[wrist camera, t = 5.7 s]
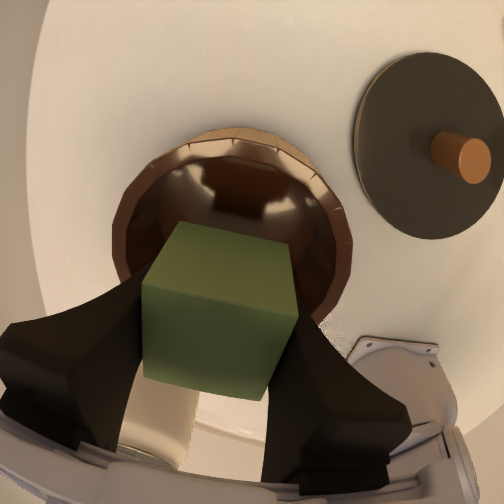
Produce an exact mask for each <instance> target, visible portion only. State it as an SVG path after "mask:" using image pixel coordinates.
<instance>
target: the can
mask: <svg viewBox="0 0 504 504" xmlns="http://www.w3.org/2000/svg"><path fill="white" fill-rule="evenodd" d="M199 393H200V391H197V390H193V389H188V388H184V387H179V386H175V385H171V384H167V383H163V382H159V381H155V380H151V379H148V378H144V377H143V361H141V363H140V365H139V368H138V370H137V373H136V376H135V379H134V382H133V385H132V389H131V392H130V395H129V399H128V403H127V406H126V410H125V414H124V418H123V422H122V426H121V430H120V435H119V440H118V445H117V450H116V454H119V455H122V456H125V457H128V458H131V459H135V460H138V461H142V462H145V463H149V464H153V465H157V466H161V467H165V468H169V469H173V470H177V469H178V468H179V466H180V465H181V464H182V463H183V462H184V461H185V459H186V458H187V455H188V452H189V447H190V442H191V436H192V431H193V425H194V420H195V415H196V409H197V404H198V398H199Z"/></svg>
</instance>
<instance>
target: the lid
mask: <svg viewBox="0 0 504 504" xmlns="http://www.w3.org/2000/svg"><path fill="white" fill-rule="evenodd" d="M354 153H355V160H356V167H357V170H358V174H359V178H360V181H361V183H362V186H363V188H364V191H365V193H366V195H367V196H368V198H369V200H370V202H371V203H372V205H373V206H374V207H375V209H376V210H377V211H378V213H379V214H380V215H381V216H382V217H383V218H384V219H385V220H386V221H387V222H388V223H390V224H391V225H392V226H393V227H395V228H396V229H398V230H399V231H401V232H403V233H405V234H407V235H410V236H412V237H416V238H421V239H431V240H433V239H443V238H447V237H451V236H454V235H456V234H459V233H461V232H463V231H465V230H466V229H468V228H469V227H471V226H472V225H473V224H475V223H476V222H477V221H478V220H479V219H480V218H481V217H482V216H483V215H484V214H485V213H486V212H487V210H488V209H489V208H490V206H491V205H492V203H493V202H494V200H495V198H496V196H497V194H498V192H499V190H500V188H501V185H502V183H503V179H504V117H503V114H502V111H501V108H500V106H499V104H498V101H497V99H496V97H495V96H494V94H493V92H492V91H491V89H490V88H489V86H488V85H487V84H486V82H485V81H484V80H483V79H482V78H481V77H480V76H479V75H478V74H477V73H476V72H475V71H474V70H473V69H472V68H470V67H469V66H468V65H466V64H465V63H463V62H461V61H459V60H458V59H455V58H453V57H450V56H448V55H444V54H439V53H428V52H426V53H417V54H412V55H409V56H406V57H403V58H401V59H399V60H397V61H395V62H393V63H391V64H390V65H389V66H387V67H386V68H385V69H383V70H382V71H381V73H380V74H379V75H378V76H377V77H376V78H375V79H374V81H373V82H372V83H371V85H370V86H369V88H368V89H367V91H366V93H365V95H364V97H363V99H362V102H361V105H360V108H359V111H358V115H357V119H356V124H355V134H354Z"/></svg>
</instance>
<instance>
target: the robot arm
mask: <svg viewBox="0 0 504 504" xmlns="http://www.w3.org/2000/svg"><path fill="white" fill-rule="evenodd" d="M153 263H154V261H153V262H151V263H150V264H148V265H147V266H145V267H144V268H143V269H141V270H140V271H138V272H137V273H136V274H134V275H133V276H131V277H130V278H128V279H127V280H125V281H124V282H122V283H121V284H119V285H118V286H116V287H114V288H113V289H111V290H109V291H108V292H106V293H104V294H103V295H101V296H99V297H97V298H95V299H93V300H91V301H89V302H86V303H84V304H82V305H80V306H77V307H74V308H72V309H69V310H66V311H64V312H61V313H58V314H54V315H51V316H47V317H43V318H39V319H36V320H30V321H24V322H18V323H11V324H10V325H9V326H8V327H7V329H6V330H5V331H4V333H3V334H2V335H1V336H0V378H1V380H2V381H3V383H4V385H5V387H6V388H7V389H6V390H5V392H4V394H3V396H2V397H1V399H0V474H2V475H3V476H5V477H6V478H8V479H9V480H11V481H12V482H14V483H15V484H17V485H18V486H20V487H22V488H23V489H25V490H27V491H28V492H30V493H32V494H34V495H35V496H37V497H39V498H41V499H43V500H44V501H46V504H478V500H479V499H480V492H479V487H478V484H477V477H476V473H475V469H474V467H473V463H472V461H471V457H470V454H469V451H468V449H467V446H466V444H465V441H464V439H463V436H462V434H461V432H460V430H459V428H458V427H457V426H454V425H455V422H456V419H457V400H456V397H455V394H454V392H453V390H452V388H451V386H450V383H449V381H448V379H447V377H446V375H445V373H444V371H443V369H442V367H441V365H440V363H439V361H438V359H437V357H436V354H437V353H438V352H439V350H440V348H439V346H438V345H433V344H422V343H411V342H402V341H393V340H384V339H376V338H368V337H364V338H361V339H360V340H359V341H358V343H357V344H356V346H355V348H354V349H353V351H352V353H351V354H350V356H349V357H348V359H347V361H346V360H345V359H344V358H343V356H342V355H341V354H340V353H339V352H338V351H337V350H336V349H335V348H334V347H333V345H332V344H331V343H330V342H329V340H328V339H327V338H326V337H325V335H324V334H323V333H322V331H321V330H320V329H319V327H318V326H317V324H316V323H315V321H314V320H313V318H312V317H311V315H310V314H309V312H308V311H307V309H306V308H305V306H304V304H303V303H302V301H301V299H300V298H299V296H298V295H297V293H296V292H295V293H296V300H297V307H298V314H299V317H298V319H297V321H296V324H295V326H294V329H293V331H292V333H291V336H290V338H289V340H288V342H287V345H286V347H285V349H284V351H283V354H282V356H281V358H280V360H279V363H278V365H277V367H276V369H275V371H274V374H273V376H272V378H271V380H270V382H269V384H268V393H269V403H268V419H267V432H266V443H265V452H264V461H263V468H262V475H261V482H250V481H240V480H231V479H224V478H216V477H210V476H203V475H198V474H193V473H187V472H182V471H178V470H173V469H169V468H165V467H161V466H157V465H153V464H149V463H145V462H142V461H138V460H135V459H131V458H128V457H125V456H122V455H119V454H116V450H117V445H118V440H119V435H120V430H121V426H122V422H123V418H124V414H125V410H126V406H127V403H128V399H129V395H130V392H131V389H132V385H133V382H134V379H135V376H136V373H137V370H138V368H139V365H140V363H141V361H142V327H141V295H142V281H143V280H144V278H145V276H146V275H147V273H148V271H149V269H150V268H151V266H152V264H153ZM368 343H369V344H368Z"/></svg>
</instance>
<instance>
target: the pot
mask: <svg viewBox="0 0 504 504" xmlns="http://www.w3.org/2000/svg"><path fill="white" fill-rule="evenodd" d="M179 221H184V222H189V223H193V224H198V225H203V226H207V227H212V228H216V229H221V230H226V231H230V232H235V233H239V234H244V235H248V236H253V237H257V238H262V239H266V240H271V241H275V242H280V243H284V244H287V245H288V248H289V254H290V260H291V267H292V273H293V280H294V287H295V292H296V293H297V295H298V296H299V298H300V299H301V301H302V303H303V304H304V306H305V308H306V309H307V311H308V312H309V314H310V315H311V317H312V318H313V320H314V321H315V323H316V324H317V326H318V325H319V324H320V322H321V321H322V320H323V319H324V318H325V317H326V316H327V315H328V314H329V313H330V312H331V311H332V310H333V309H334V307H335V306H336V305H337V303H338V301H339V299H340V297H341V295H342V293H343V290H344V288H345V286H346V284H347V282H348V279H349V277H350V274H351V263H352V250H353V241H352V240H353V239H352V235H351V232H350V228H349V225H348V222H347V218H346V215H345V212H344V208H343V206H342V204H341V202H340V201H339V199H338V198H337V197H336V195H335V194H334V193H333V191H332V190H331V188H330V187H329V186H328V184H327V183H326V182H325V180H324V179H323V178H322V176H321V175H320V174H319V173H318V171H317V170H316V169H315V168H314V166H313V165H312V164H311V163H310V161H309V160H308V159H307V158H306V156H305V155H304V154H303V153H302V152H301V151H300V150H299V149H297V148H296V147H294V146H293V145H291V144H290V143H288V142H286V141H285V140H283V139H281V138H280V137H278V136H276V135H274V134H271V133H267V132H264V131H261V130H256V129H250V128H245V127H236V128H224V129H218V130H211V131H208V132H206V133H203V134H201V135H199V136H197V137H195V138H193V139H191V140H189V141H187V142H185V143H183V144H181V145H179V146H177V147H175V148H174V149H172V150H170V151H168V152H166V153H165V154H163V155H161V156H159V157H158V158H156V159H154V160H152V161H151V162H150V163H149V164H148V165H147V166H146V167H145V168H144V169H143V170H142V171H141V173H140V174H139V175H138V176H137V177H136V178H135V179H134V180H133V181H132V183H131V184H130V185H129V186H128V187H127V188H126V190H125V191H124V194H123V196H122V199H121V201H120V204H119V206H118V209H117V212H116V215H115V217H114V220H113V224H112V258H113V261H114V264H115V267H116V270H117V273H118V276H119V279H120V282H121V283H122V282H124V281H125V280H127V279H128V278H130V277H131V276H133V275H134V274H136V273H137V272H138V271H140V270H141V269H143V268H144V267H145V266H147V265H148V264H150V263H151V262H153V261H155V259H156V258H157V256H158V255H159V253H160V251H161V250H162V248H163V246H164V245H165V243H166V242H167V240H168V238H169V237H170V235H171V234H172V232H173V230H174V229H175V227H176V226H177V224H178V223H179Z"/></svg>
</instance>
